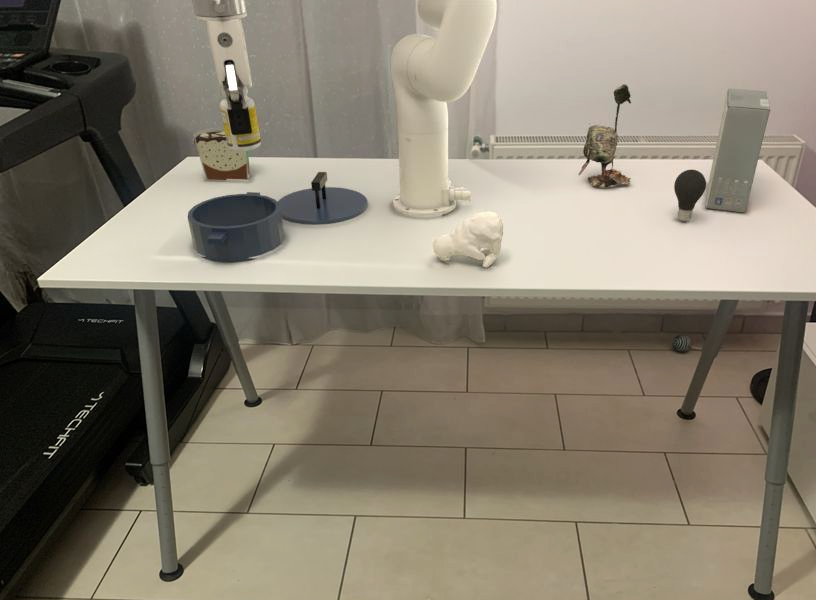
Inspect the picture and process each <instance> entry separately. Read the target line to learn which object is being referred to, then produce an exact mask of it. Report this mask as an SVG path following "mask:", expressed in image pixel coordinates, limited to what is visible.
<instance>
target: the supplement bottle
mask: <svg viewBox="0 0 816 600" xmlns="http://www.w3.org/2000/svg"><path fill="white" fill-rule="evenodd" d="M237 87H240V83H239V84H237ZM227 88H229V84H227ZM220 89H221V88H220ZM243 89H244V96H245V102H246V107H248V110H249V116H250V122H251V128H252V133H251V134H242V135H232V133H231V128H230V123H229V117H228V112H227V109H228V104H227V98H226V93H225V90H222V89H221V94H222V97H223V99H222V100H221V101H220V102H219V110H220V114H221V119H222V124H223V128H224V130H225V135H226V140H227V145H228V148H229V149H231V150H234V151H247V150H248V151H252V150H255V149H257V148H259V147H260V146H261V144H262V142H261V135H260V129H259V121H258V116H257V110H256V104H255V101H254V100H253V98H251V97H249V96H248V94H249V90H248V89H249V88H248V86H244V85H243ZM238 93H240V92H238ZM229 94H230V93H229ZM240 94H241V93H240Z"/></svg>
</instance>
